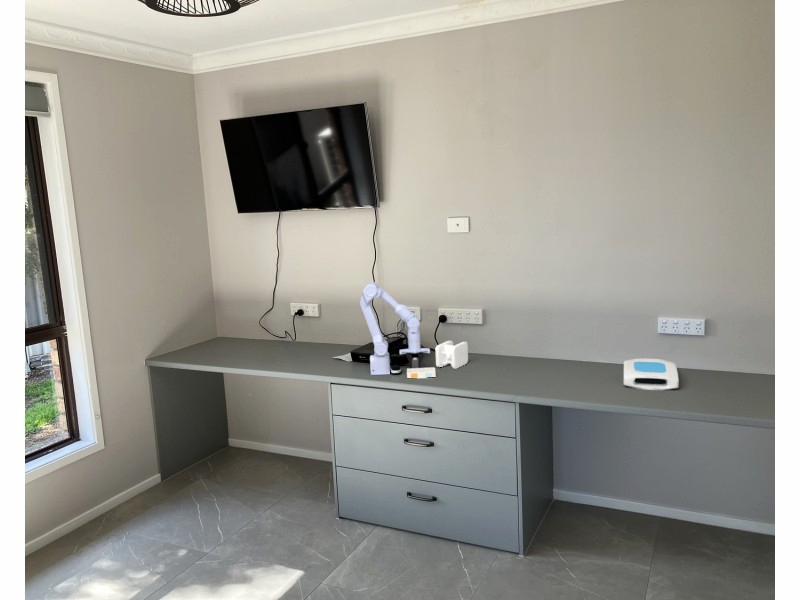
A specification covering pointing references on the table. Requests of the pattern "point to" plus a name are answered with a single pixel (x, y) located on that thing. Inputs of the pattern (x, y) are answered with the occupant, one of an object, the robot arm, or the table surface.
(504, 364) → the table surface
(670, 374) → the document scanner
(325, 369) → the table surface
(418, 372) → the white printed box
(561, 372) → the table surface
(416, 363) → the plug
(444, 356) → the cable organizer
